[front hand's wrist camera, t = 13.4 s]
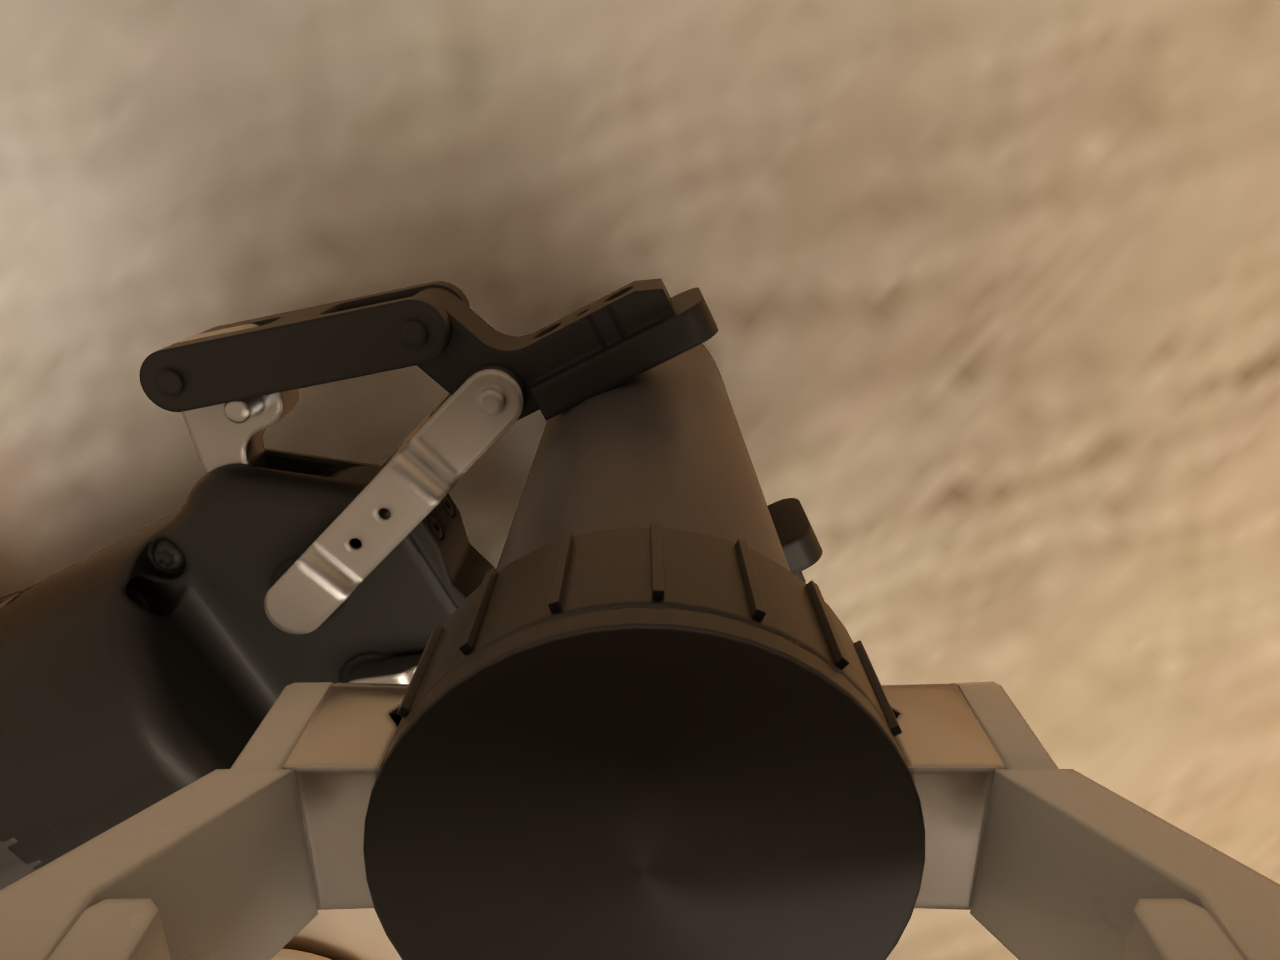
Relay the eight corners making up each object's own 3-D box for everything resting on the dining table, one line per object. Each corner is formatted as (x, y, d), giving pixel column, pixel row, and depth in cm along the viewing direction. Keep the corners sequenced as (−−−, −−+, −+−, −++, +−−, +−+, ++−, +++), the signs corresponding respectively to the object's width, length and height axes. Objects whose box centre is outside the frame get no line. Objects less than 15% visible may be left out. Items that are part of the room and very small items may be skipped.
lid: (445, 472, 9) (391, 563, 7) (942, 574, 10) (1021, 687, 8) (384, 867, 11) (327, 1028, 9) (802, 937, 12) (837, 1108, 10)
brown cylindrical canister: (692, 293, 23) (793, 570, 8) (744, 446, 25) (914, 928, 9) (534, 351, 24) (343, 715, 9) (594, 497, 25) (524, 1032, 10)
